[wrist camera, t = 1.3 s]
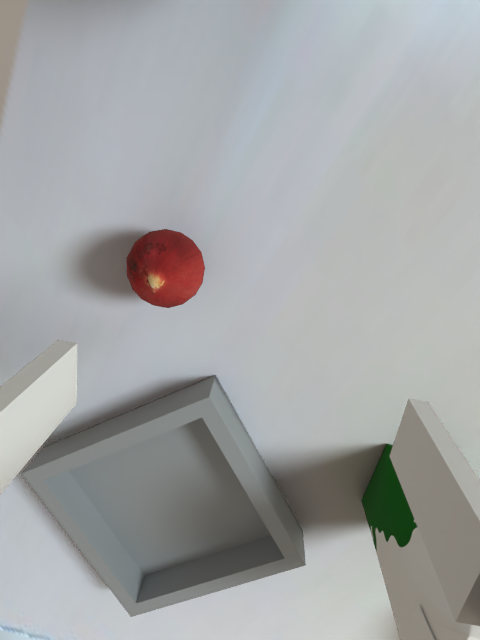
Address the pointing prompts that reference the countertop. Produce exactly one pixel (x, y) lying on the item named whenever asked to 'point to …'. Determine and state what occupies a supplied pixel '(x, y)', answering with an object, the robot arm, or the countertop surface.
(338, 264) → the countertop surface
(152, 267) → the onion
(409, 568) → the milk carton
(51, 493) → the tray
